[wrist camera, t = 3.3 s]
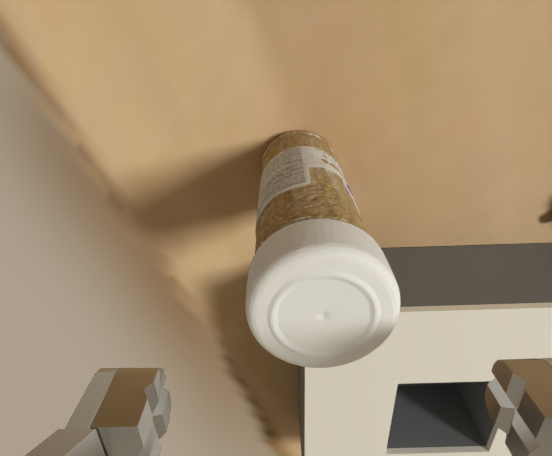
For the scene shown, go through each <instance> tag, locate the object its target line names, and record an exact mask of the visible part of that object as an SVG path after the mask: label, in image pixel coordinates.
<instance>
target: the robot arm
mask: <svg viewBox="0 0 552 456" xmlns="http://www.w3.org/2000/svg"><path fill="white" fill-rule="evenodd" d="M491 371H492V373H493V375H494V376H495V378H494V379H493V380H492V381H491V382H489V383H488V384H487V387H486V391H485V402H486V407H487V410H488V413H489V416H490V417H491V419H492V421H493V423H494V425H495V426H497V427H498V428H499V429H501V430H502V431H503V432H505V433H506V440H505V444H506V446H507V447H508V449H509V451H510V453H511V454H512V456H552V358H540V359H538V358H532V359H504V360H497V361H496V362H495V363H494V364H493V367H492V370H491ZM165 380H166V377H165V373H164V369H161V368H101V369H100V370H98V371H97V372H96V373H95V374H94V377H93V378H92V380H91V382H90V384H89V385H88V387H87V389H86V391H85V393H84V395H83V396H82V398H81V400H80V402H79V404H78V406H77V407H76V409H75V411H74V413H73V415H72V417H71V418H70V420H69V422H68V424H67V426H66V428H65V429H59V430H57V431H56V432H54V433H53V434H52V435H51V436H49V437H48V438H47V439H46V440H44V441H43V442H42V443H40V444H39V445H38V446H37V447H35V448H34V449H33V450H31V451H30V452H29V453H28V454H26V455H25V456H160V453H161V447H160V443H159V439H160V438H161V437H162V436H163V435H164V433H166V432H167V428H168V424H169V420H170V410H171V401H170V394H169V391H168V390H167V389H165V388H164V383H165Z"/></svg>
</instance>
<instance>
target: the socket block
mask: <svg viewBox="0 0 552 456" xmlns="http://www.w3.org/2000/svg"><path fill="white" fill-rule="evenodd" d="M381 250H382V251H383V253H384V255H385V257H386V259H387V261H388V263H389V265H390V268H391V270H392V272H393V274H394V277H395V279H396V281H397V284H398V287H399V291H400V312H399V316H398V320H397V323H396V325H395V327H394V329H393V330H392V332H391V334H390V335H389V336H388V338H387V339H386V340H385V341H384V342H383V343H382V344H381V345H380V346H379V347H378V348H376V349H375V350H374V351H372V352H371V353H369V354H368V355H366V356H364V357H363V358H361V359H359V360H356V361H354V362H351V363H348V364H345V365H340V366H336V367H329V368H310V367H303V366H299V422H300V437H301V453H302V456H512V454H511V453H510V451H509V449H508V447H507V446H506V444H505V440H506V433H505V432H503V431H502V430H501V429H499V428H498V427H497V426H495V425H494V423H493V421H492V419H491V417H490V416H489V413H488V410H487V407H486V402H485V391H486V387H487V384H488V383H489V382H491V381H492V380H493V379H494V378H495V376H494V375H493V373H492V371H491V370H492V367H493V364H494V363H495V362H496V361H497V360H504V359H532V358H538V359H540V358H552V243H532V244H499V245H467V246H435V247H403V248H381Z"/></svg>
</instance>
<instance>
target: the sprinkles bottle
mask: <svg viewBox="0 0 552 456" xmlns="http://www.w3.org/2000/svg"><path fill="white" fill-rule="evenodd" d="M261 174H262V177H261V181H260V190H259V199H258V210H257V220H256V250H255V255H254V257H253V259H252V261H251V264H250V267H249V272H248V279H247V288H246V304H245V309H246V318H247V322H248V325H249V328H250V330H251V332H252V334H253V336H254V337H255V339H256V340H257V341H258V342H259V344H260V345H261V346H262V347H263V348H264V349H266V350H267V351H268V352H269V353H271V354H272V355H274V356H275V357H277V358H279V359H281V360H283V361H286V362H288V363H291V364H294V365H298V366H303V367H310V368H329V367H336V366H340V365H345V364H348V363H351V362H354V361H356V360H359V359H361V358H363V357H364V356H366V355H368V354H369V353H371V352H372V351H374V350H375V349H376V348H378V347H379V346H380V345H381V344H382V343H383V342H384V341H385V340H386V339H387V338H388V336H389V335H390V334H391V332H392V330H393V329H394V327H395V325H396V323H397V320H398V316H399V312H400V291H399V287H398V284H397V281H396V279H395V277H394V274H393V272H392V270H391V268H390V265H389V263H388V261H387V259H386V257H385V255H384V253H383V251H382V250H381V248H380V247H379V245H378V244H377V242H376V241H375V240H374V239H373V238H372V237H371V236H370V235H368V233H367V230H366V228H365V226H364V224H363V221H362V219H361V217H360V214H359V211H358V208H357V205H356V203H355V200H354V198H353V196H352V194H351V191H350V189H349V187H348V184H347V182H346V180H345V178H344V176H343V173H342V171H341V169H340V167H339V165H338V163H337V160H336V156H335V153H334V151H333V149H332V147H331V146H330V145H329V143H328V142H327V141H326V140H325V139H324V138H322V137H321V136H319V135H318V134H316V133H313V132H310V131H306V130H302V131H301V130H296V131H290V132H286V133H283V134H281V135H280V136H279V137H277V138H276V139H274V140H273V141H272V142H271V143H270V144H269V145H268V147H267V149H266V150H265V152H264V154H263V158H262V163H261Z"/></svg>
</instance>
